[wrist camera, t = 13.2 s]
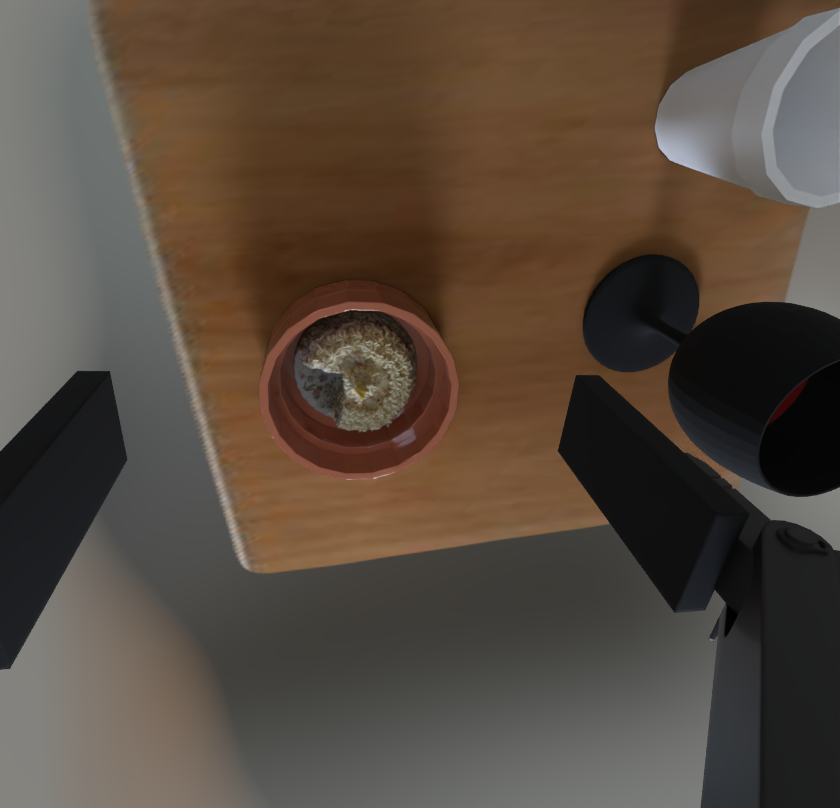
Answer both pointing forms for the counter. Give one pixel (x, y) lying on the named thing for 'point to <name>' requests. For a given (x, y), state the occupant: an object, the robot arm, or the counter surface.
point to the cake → (356, 368)
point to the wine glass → (730, 372)
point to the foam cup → (764, 115)
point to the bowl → (318, 434)
